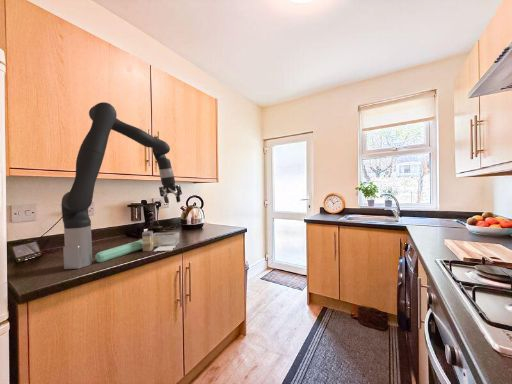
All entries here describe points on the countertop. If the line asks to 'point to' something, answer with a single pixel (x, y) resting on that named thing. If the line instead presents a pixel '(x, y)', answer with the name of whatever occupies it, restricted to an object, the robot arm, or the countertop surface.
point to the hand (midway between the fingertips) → (172, 202)
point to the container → (118, 251)
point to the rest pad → (164, 248)
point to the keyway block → (165, 239)
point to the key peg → (147, 240)
